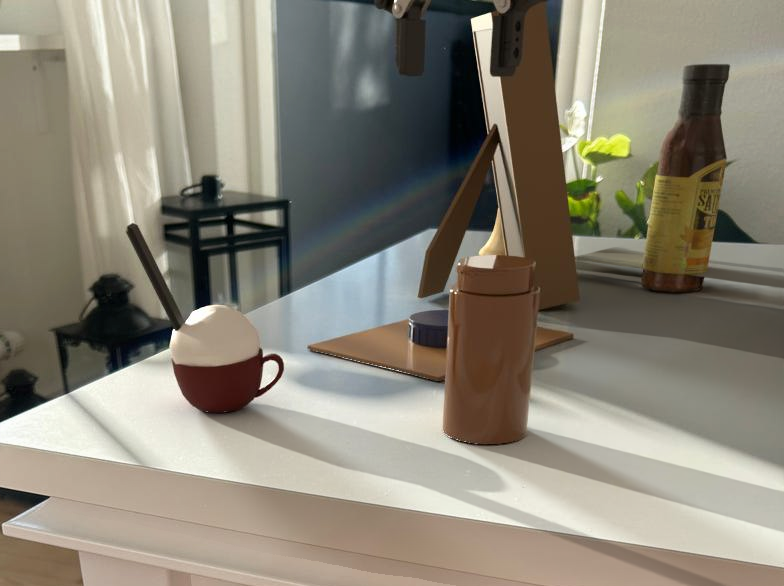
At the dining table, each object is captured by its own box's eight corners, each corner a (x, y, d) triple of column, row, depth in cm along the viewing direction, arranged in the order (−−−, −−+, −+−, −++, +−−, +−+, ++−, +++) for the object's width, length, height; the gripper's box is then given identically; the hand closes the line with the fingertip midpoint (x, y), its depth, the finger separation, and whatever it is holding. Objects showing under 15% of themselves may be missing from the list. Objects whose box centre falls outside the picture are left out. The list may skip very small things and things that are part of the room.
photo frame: (545, 267, 114) (571, 4, 102) (578, 311, 95) (614, -5, 83) (412, 268, 115) (421, 8, 103) (419, 311, 96) (431, -1, 84)
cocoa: (295, 402, 72) (291, 221, 66) (246, 428, 68) (237, 235, 62) (186, 385, 77) (173, 213, 71) (134, 407, 72) (115, 226, 66)
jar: (438, 418, 69) (447, 254, 63) (519, 418, 69) (534, 253, 63) (446, 445, 64) (456, 270, 59) (533, 445, 64) (550, 269, 59)
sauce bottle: (695, 297, 100) (734, 64, 90) (631, 291, 103) (663, 64, 93) (710, 285, 105) (750, 62, 95) (649, 279, 108) (681, 63, 98)
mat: (444, 313, 96) (444, 309, 95) (573, 338, 87) (574, 333, 87) (307, 350, 85) (307, 345, 85) (438, 382, 76) (438, 377, 76)
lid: (491, 344, 84) (493, 322, 83) (424, 350, 83) (425, 328, 82) (461, 328, 89) (462, 307, 88) (397, 334, 87) (398, 313, 87)
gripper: (351, -192, 70) (350, 78, 78) (525, -232, 61) (504, 78, 69) (422, -179, 74) (414, 75, 82) (593, -214, 65) (566, 74, 74)
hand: (455, 76), depth 76 cm, fingers open, 8 cm apart
